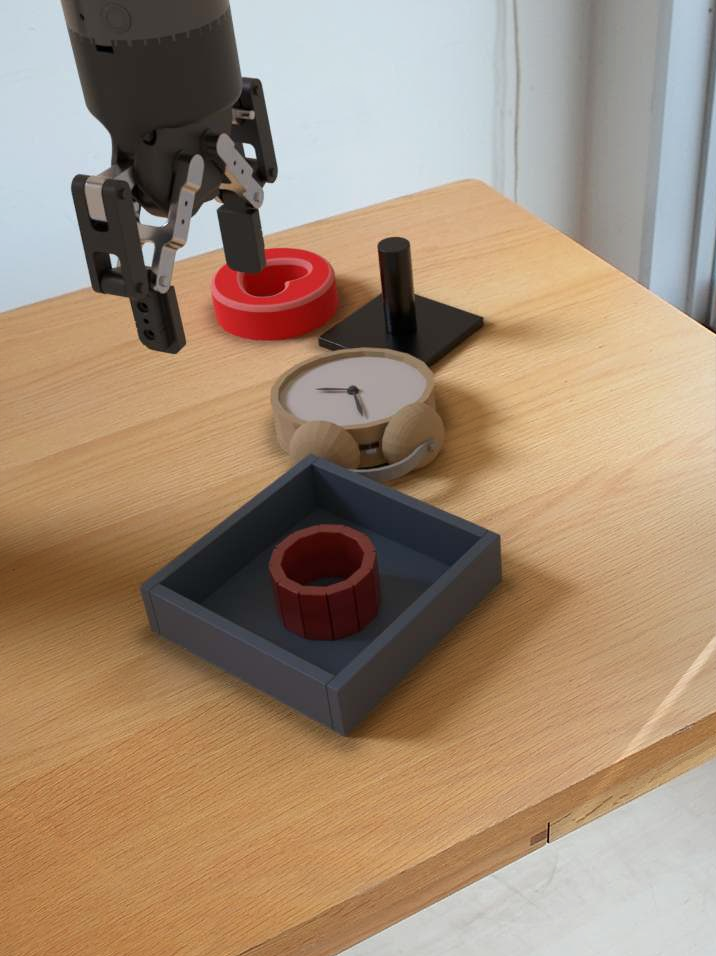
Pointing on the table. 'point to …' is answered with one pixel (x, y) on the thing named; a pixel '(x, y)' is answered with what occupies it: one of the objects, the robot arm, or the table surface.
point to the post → (402, 315)
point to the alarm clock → (359, 411)
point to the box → (252, 601)
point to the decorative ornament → (276, 296)
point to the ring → (330, 606)
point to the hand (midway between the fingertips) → (208, 307)
